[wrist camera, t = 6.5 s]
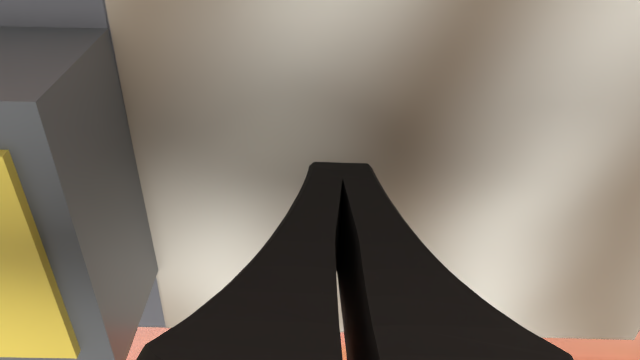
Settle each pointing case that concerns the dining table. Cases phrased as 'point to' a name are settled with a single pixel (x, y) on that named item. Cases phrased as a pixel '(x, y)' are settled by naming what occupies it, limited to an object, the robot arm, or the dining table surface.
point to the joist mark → (88, 12)
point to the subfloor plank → (398, 139)
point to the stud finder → (68, 200)
